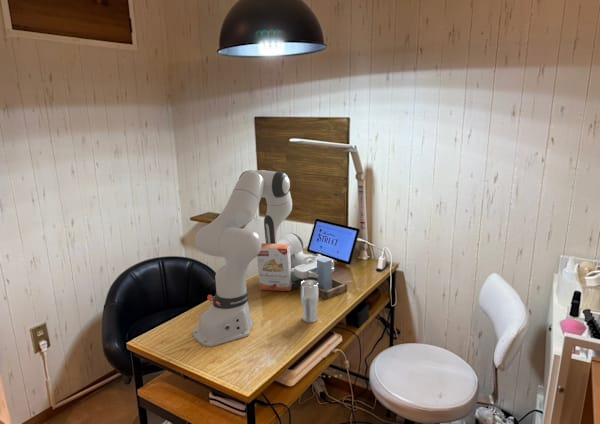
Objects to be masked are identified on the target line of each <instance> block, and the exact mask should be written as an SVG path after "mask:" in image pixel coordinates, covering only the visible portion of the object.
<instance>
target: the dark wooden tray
mask: <svg viewBox="0 0 600 424" xmlns="http://www.w3.org/2000/svg"><path fill="white" fill-rule="evenodd" d="M318 290H319V297H321V298H323V299H325V300H327V299H330V298H333V297H334V296H337V295H339V294H342V293H345V292H347V291H348V284H347V283H345V282H342V281H340V280H338V279H335V278H333V277H332V289H330V290H328V291H326V290H323V289H321V288H319V287H318Z"/></svg>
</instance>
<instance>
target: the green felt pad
mask: <svg viewBox="0 0 600 424" xmlns="http://www.w3.org/2000/svg"><path fill="white" fill-rule="evenodd" d="M291 273H292V272H291ZM300 280H301V279H300V278H298V277H296V276H295V275H294V273H292V283H294V282H297V281H300Z"/></svg>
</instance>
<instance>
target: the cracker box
mask: <svg viewBox="0 0 600 424" xmlns="http://www.w3.org/2000/svg"><path fill="white" fill-rule="evenodd" d="M261 244H262V245H261V250H260V252H259V254H258V255H257V257H256V258H257V260H256V261H257V270H258V282H259V283H258V284H259V290H260V291H275V292H276V291H281V292H291V290H292V289H291V287H292V283H293V281H292V273H291V269H292V268H291V257H290V244H266V243H262V242H261Z"/></svg>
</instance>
